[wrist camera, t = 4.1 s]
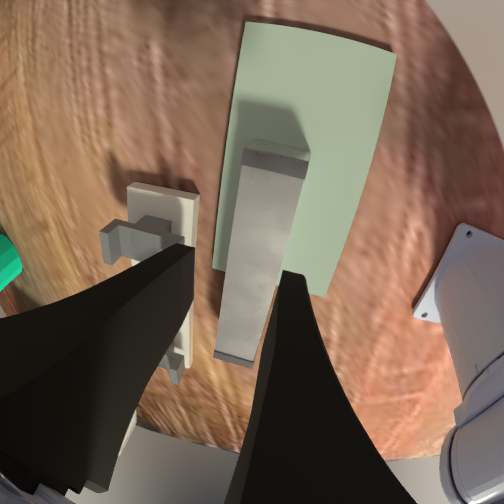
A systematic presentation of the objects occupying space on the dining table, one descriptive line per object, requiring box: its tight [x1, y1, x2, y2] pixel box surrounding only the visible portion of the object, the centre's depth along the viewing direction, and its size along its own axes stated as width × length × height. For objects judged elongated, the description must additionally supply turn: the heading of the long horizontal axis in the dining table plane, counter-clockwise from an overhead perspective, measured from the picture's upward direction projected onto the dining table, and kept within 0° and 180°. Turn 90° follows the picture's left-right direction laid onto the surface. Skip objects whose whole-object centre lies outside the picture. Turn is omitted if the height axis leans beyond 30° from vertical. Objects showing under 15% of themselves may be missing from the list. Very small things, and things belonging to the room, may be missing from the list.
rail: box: [213, 138, 311, 369], centre depth 18 cm, size 3×16×3 cm, turn 170°
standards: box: [99, 182, 200, 385], centre depth 22 cm, size 5×18×4 cm, turn 171°
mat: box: [212, 22, 397, 297], centre depth 16 cm, size 8×16×1 cm, turn 171°
